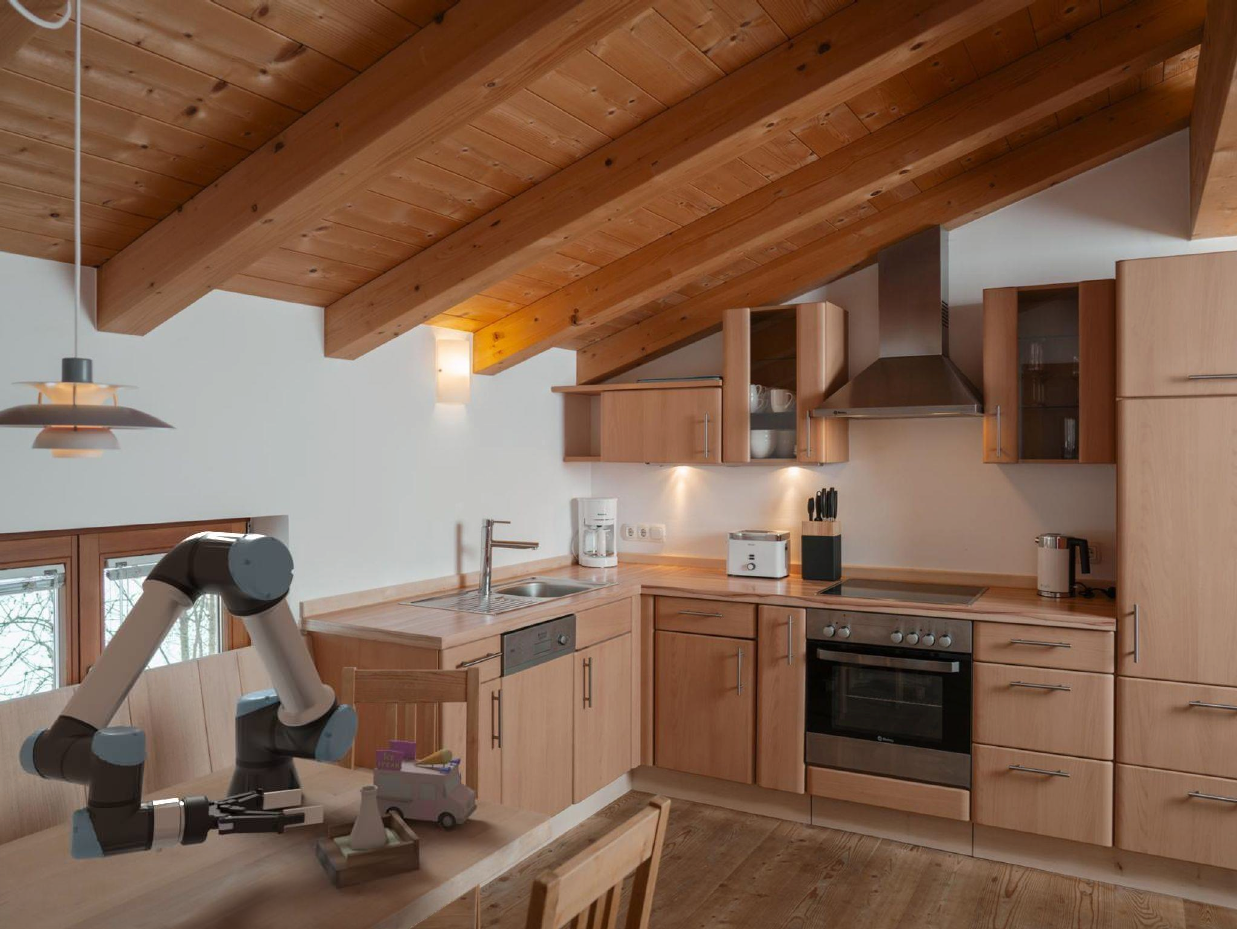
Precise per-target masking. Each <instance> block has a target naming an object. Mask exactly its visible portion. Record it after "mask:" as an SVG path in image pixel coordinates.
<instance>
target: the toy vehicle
mask: <svg viewBox="0 0 1237 929" xmlns="http://www.w3.org/2000/svg"><path fill="white" fill-rule="evenodd" d="M417 744H418V743H417V742H410V741H406V740H393V739H390V740H389V747H390V750H388V749H383V750H381V749H380V750H379V749H376V750H375V761H376V764H375V765H376V767H374V768H373V784H372V785H376V786H377V787H378V791H377V792H376V800H377V806H378V810H379V813H380V815H385V814H389V811H393V810H394V811H395V812H396V813H397V814H398V815H399V816H400V818H401V819H402V820H403V821H404V820H405V819H410V820H419V821H420V820H421V821H429V822H431V821H432V822H438V824H439V827H440V828H441V829H442V830H444V831H451V830H453V829H455V828H456V826H457V825H458V824H459V825H463V824H464V823H465V822H466V821H467V819H468V818H470V816H472V814H473V813H475V812H476V810H477V808H478V805H477V804H476V791H475V790H473V789H472V788H470V787H469V786H467V785H465V784H464V783H462V773H460V771H459V770H460V766H459V765H460V763H461V758H456V759H453V753H452V750H451V749H448V748H441V749H440V750H438V751H436V752H434V753H432V754H430V755H428V756H426V757H425V758H423V759H416V751H417Z"/></svg>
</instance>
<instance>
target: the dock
mask: <svg viewBox="0 0 1237 929" xmlns="http://www.w3.org/2000/svg"><path fill="white" fill-rule="evenodd" d="M380 816H381V819H382V822H383V825H384V828H385V830H386V833H387V836H388V839H389V840H388V841H387V843H386V844H385V845H384V846H382V847H378V848H374V849H369V850H362V849H352V848H351V847H350V846H349V845H348V840H349V837H350V835H351V832H352V829H353V827H354V824H355V821H356V819H354V820H350V821H344V822H339V823H334V824H329V825H327V836H321V837H316V838H315V856H316V857H317V859H318V861H319V863H320V864H321V866H322V868H323V869H324V871H325V872H326V874H327V876H328V877H329V879H330V881H331V882H332V885H333V886H334V887H335V889H338V888H342V887H343V888H344V887H349V886H353V885H356V884H360V883H366V882H370V881H374V880H379V879H383V878H388V877H392V876H396V875H400V874H405V873H409V872H414V871H419V870H420V840H421V839H420V838H419V836H418V835H417V834H416V833H415V832H414V831H413V830H412V829H411V828H410V826H409V825H408V824H407V823H406V822H405V821H404V820H402V819H401V818H400V816H399V815H398V814H397V813H396V812H395V811H394V810H393V811H389V814H385V815H380Z"/></svg>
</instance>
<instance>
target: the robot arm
mask: <svg viewBox="0 0 1237 929" xmlns="http://www.w3.org/2000/svg"><path fill="white" fill-rule="evenodd" d="M294 569H295V566H294V559H293V556H292V554H291V551H290V550H289V548H288V547H287V545H286V544H284V542H282V541H281V540H279V539H278V538H277V537H273V536H272V535H271V536H270V535H264V534H261V533H256V532H255V533H251V532H250V533H233V532H232V533H230V532H218V531H204V532H200V533H196V534H194V535H191V536H189V537H186V538H185V539H184V540H182V541H180V542H179V543H177V544H176V545H175V546H174V547H172V549H170V550H168V551H167V553H166V554H165V555H163V557H162V558H161V559H160V560H158V562H157V563H156V565H154V566H153V568H152V569H151V571H150V572H149V574H148V575H147V576H146V578H145V579H144V581H143V582H142V584H141V588H142V591H143V592H142V594H141V595H140V597H139V598H138V600H136V602H135V603H134V605H133V606H132V608H131V610H130V611H129V613H128V614H127V615H126V616H125V618H124V620H122V623H121V625H120V626H119V627H118V629H117V630H116V631H115V633H114V635H113V636H112V638H111V639H110V641H109V642H108V643H107V645H106V646H105V648H104V649H103V650H102V651H101V654H100V655H99V656H98V658H97V659H96V661H94V663H93V665H92V667H90V670H89V671H88V673H87V674H86V675H85V677H84V678H83V679H82V681H81V683H80V684H79V685H78V687H77V688H76V690H75V691H74V692H73V694H72V696H71V697H70V699H69V700H68V702H67V703H66V704H65V706H64V707H63V709H62V711H61V712H60V714H58V717H57V718H56V719H55V721H54V722H53V724H52V725H51V727H45V728H40V729H38V730H35V731H34V732H32V733H31V734H29V735H28V736H27V737H26V738H25V739H24V741H23V743H22V745H21V747H20V749H19V753H18V754H19V755H18V756H19V757H18V758H19V759H18V760H19V764H20V766H21V767H22V769H23V770H24V771H25V773H27V774H30V775H33V776H36V777H39V778H41V779H44V780H48V781H50V780H51V781H52V780H53V781H59V782H65V783H69V784H75V785H78V786H84V787H88V791H87V792H88V793H87V794H88V795H87V804H86V806H85V807H83V808H79V809H75V811H73V813H72V815H71V817H70V818H71V819H70V826H69V837H68V838H69V840H68V841H69V842H68V843H69V846H68V848H69V855H70V856H71V858H73V859H74V860H88V859H89V860H90V859H105V858H110V857H114V856H121V855H126V854H133V853H139V852H141V853H142V852H146V851H147V852H148V851H153V850H154V851H155V853H157V854H159V853H161V852H162V850H163V849H168V848H175V847H177V845H178V844H180V845H181V846H182V847H184V846H185V847H186V846H191V845H198V844H203V843H205V842H206V840H207V838H208V836H209V835H208V833H209V831H210V830H218V834H217V835H220V836H224V835H231V834H268V833H270V834H272V833H273V834H274V833H276V834H277V835H282V834H284V833H285V829H286V828H292V827H293V828H294V827H300V826H307V825H315V824H321V823H322V824H323V823H324V808H325V806H324V805H323V804H319V805H312V806H305V807H303V806H302V807H298V808H296V807H295V806H301V805H302V797H303V794H302V793H303V786H302V782H301V779H300V778H301V777H300V775H299V773H298V770H297V767H296V763H295V758H297V759H301V760H306V761H311V762H317V763H336V762H338V761H339V760H341V759H342V758H343V757H345V755H346V754H347V753H348V752H349V750H350V749H351V747H352V746H353V744H354V741H355V738H356V734H357V733H358V732H357V731H358V724H359V718H358V713H357V711H356V709H355V708H354V707H353V706H350V705H349V704H347V703H346V704H345V703H344V704H341V703H340V702H339V700H338V698H337V696H336V695H337V694H336V693H335V691H334V689H333V688H332V687H331V686H330V685H328V684H324V683H323V682H322V680H321V678H320V675H319V673H318V671H317V668H316V666H315V664H314V661H313V659H312V657H311V654H310V652H309V650H308V648H307V644H306V643H305V640H304V638H303V635H302V633H301V630H300V628H299V626H298V624H297V622H296V620H295V616H294V615H293V612H292V610H291V608H290V605H289V603H288V601H287V597H288V596H289V594H290V591H291V585H292V583H293V580H294V574H293V573H292V571H293V570H294ZM204 595H215V596H220V598H221V599H222V601H223V603H224V605H225V608H226V610H227V611H228V613H229V614H230V615H231V616H232V617H235V618H239V619H240V618H241V621H242V622H243V625H244V626H245V629H246V632H247V633H248V635H249V638H250V639H251V642H252V644H253V646H254V648H255V651H256V653H257V656H258V657H259V659H260V662H261V663H262V666H263V668H264V671H265V672H266V674H267V676H268V679H269V680H270V683H271V685H272V687H273V688H268V689H263V690H258V691H257V690H256V691H254V692H250V693H248V694H245V695H243V696H241V697H240V698H239V699H238V701H237V702H236V709H235V710H236V711H235V716H234V718H235V719H234V721H235V724H234V725H235V726H234V729H235V735H234V736H235V741H234V742H235V760H234V761H235V764H234V769H233V773H232V775H231V778H230V780H229V784H228V786H227V790H226V793H225V797H224V798H220V799H214V800H208V797H207V796H206V795H204V794H203V795H202V794H201V795H192V796H191V795H190V796H184V797H183V798H181V800H180V799H179V798H178V797H173V798H164V799H157V800H156V799H155V800H149V801H142V795H143V786H144V776H145V775H144V774H145V763H146V759H147V751H146V748H147V744H146V743H147V741H146V740H147V739H146V738H147V737H146V736H147V735H146V732H145V730H144V729H142V728H140V727H138V726H132V725H127V726H125V725H117V726H109V725H110V724H111V723H112V721H113V720H114V718H115V716H116V715H117V713H118V712H119V710H120V708H121V707H122V705H123V704H124V703H125V701H126V699H127V698H128V696H129V695H130V693H131V692H132V690H133V688H134V687H135V685H136V684H137V683H138V682H139V679H140V678H141V676H142V674H143V673H144V672H145V670H146V668H147V667H148V665H149V664H150V662H151V661H152V660H153V658H154V656H155V654H157V651H158V650H159V648H161V647H160V646H161V645H162V644H163V642H164V640H165V639H166V638H167V636H168V635H169V633H170V632H171V630H172V629H173V627H174V626H175V623H176V622H177V621H178V619H179V617H180V616H181V614H182V613H183V612H185V611H189V610H191V609H192V608H193V606H194V605H195V603H196V602H197V601H198V600H199V598H201V597H202V596H204ZM288 807H295V808H288ZM285 808H288V809H285ZM282 809H283V810H282ZM278 810H282V811H278Z"/></svg>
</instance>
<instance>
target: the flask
mask: <svg viewBox="0 0 1237 929" xmlns="http://www.w3.org/2000/svg"><path fill="white" fill-rule="evenodd" d="M377 791H378V787H377V786H376V785H373V784H372V785H371V784H368V785H363V786H361V787H360V788H359V792H360V793H361V795H360V796H361V797H360V805H359V808H358V809H359V810H358V813H357V816H356V818H355V820H356V821H355V824H354V827H353V829H352V832H351V835H350V837H349V840H348V845H349V846H350V847H351V848H352V849H362V850H369V849H374V848H378V847H382V846H384V845H385V844H386V843H387V841H388V840H389V839H388V836H387V833H386V830H385V828H384V825H383V822H382V819H381V816H380V813H379V810H378V806H377V800H376V792H377Z"/></svg>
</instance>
